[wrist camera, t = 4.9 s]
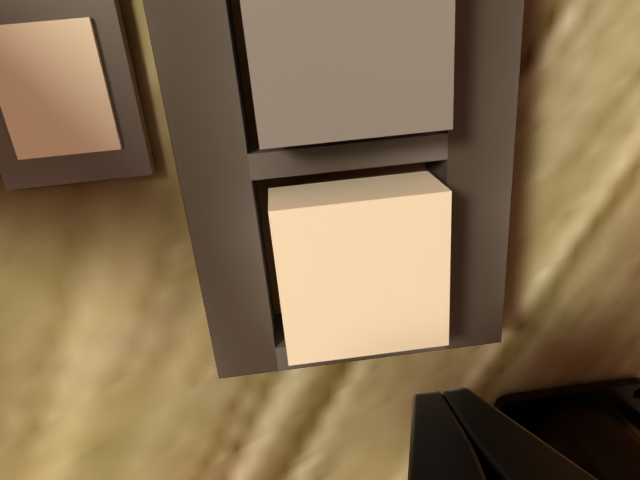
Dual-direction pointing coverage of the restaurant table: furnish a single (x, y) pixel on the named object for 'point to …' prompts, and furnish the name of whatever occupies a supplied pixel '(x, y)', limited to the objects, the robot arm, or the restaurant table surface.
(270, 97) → the key gray
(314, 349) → the key ivory
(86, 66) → the tile
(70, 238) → the restaurant table surface
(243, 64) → the keypad
